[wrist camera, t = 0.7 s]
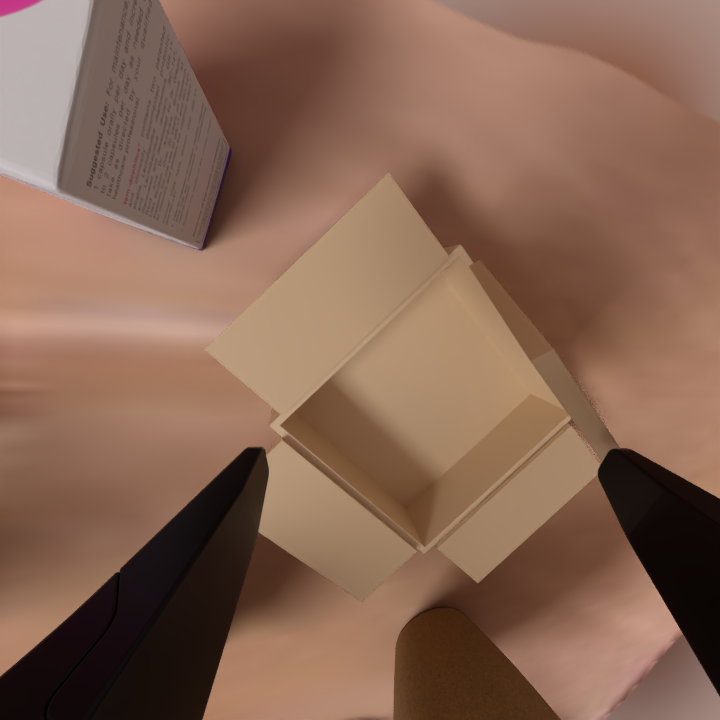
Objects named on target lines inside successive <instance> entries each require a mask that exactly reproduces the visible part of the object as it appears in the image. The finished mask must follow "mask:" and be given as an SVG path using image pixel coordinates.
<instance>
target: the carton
mask: <svg viewBox="0 0 720 720" xmlns="http://www.w3.org/2000/svg"><path fill="white" fill-rule="evenodd" d="M472 264H473V261H472V260H471V259H470V257H469V256H468V254H467V253H466V251H465V250H464V248H463V247H462V246H461V244H459V245H455V246H450V247H446V248H443V247H442V246H441V244H440V243H439V242H438V240H437V239H436V237H435V236H434V235H433V233H432V232H431V230H430V229H429V228H428V226H427V225H426V224H425V222H424V221H423V219H422V218H421V217H420V215H419V214H418V213H417V211H416V210H415V208H414V207H413V206H412V204H411V203H410V201H409V200H408V199H407V197H406V196H405V195H404V193H403V192H402V190H401V189H400V188H399V186H398V185H397V183H396V182H395V181H394V179H393V178H392V177H391V175H390V174H389V173H388V174H386V175H385V176H384V177H383V178H382V179H381V180H380V181H379V182H378V183H377V184H376V185H375V186H374V187H373V188H372V189H371V190H370V191H369V192H368V193H367V194H366V195H365V196H364V197H363V198H362V199H361V200H359V201H358V202H357V203H356V204H355V205H354V206H353V207H352V208H351V209H350V210H349V211H348V212H347V213H346V214H345V215H344V216H343V217H342V218H341V219H340V220H339V221H338V222H337V223H336V224H335V225H334V226H332V227H331V228H330V229H329V230H328V231H327V232H326V233H325V234H324V235H323V236H322V237H321V238H320V239H319V240H318V241H317V242H316V243H315V244H314V245H313V246H312V247H311V248H310V249H309V250H308V251H307V252H305V253H304V254H303V255H302V256H301V257H300V258H299V259H298V260H297V261H296V262H295V263H294V264H293V265H292V266H291V267H290V268H289V269H288V270H287V271H286V272H285V273H284V274H283V275H282V276H281V277H280V278H278V279H277V280H276V281H275V282H274V283H273V284H272V285H271V286H270V287H269V288H268V289H267V290H266V291H265V292H264V293H263V294H262V295H261V296H260V297H259V298H258V299H257V300H256V301H255V302H254V303H253V304H251V305H250V306H249V307H248V308H247V309H246V310H245V311H244V312H243V313H242V314H241V315H240V316H239V317H238V318H237V319H236V320H235V321H234V322H233V323H232V324H231V325H230V326H229V327H228V328H227V329H226V330H224V331H223V332H222V333H221V334H220V335H219V336H218V337H217V338H216V339H215V340H214V341H213V342H212V343H211V344H210V345H209V346H208V347H207V348H206V349H205V350H206V351H207V352H208V353H209V354H210V355H211V356H213V357H214V358H215V359H216V360H217V361H218V362H220V363H221V364H222V365H223V366H224V367H225V368H227V369H228V370H229V371H230V372H231V373H232V374H234V375H235V376H236V377H237V378H238V379H239V380H241V381H242V382H243V383H244V384H245V385H246V386H248V387H249V388H250V389H251V390H252V391H254V392H255V393H256V394H257V395H258V396H259V397H261V398H262V399H263V400H264V401H265V402H266V403H268V404H269V405H270V406H271V407H272V411H271V417H270V422H269V426H270V427H271V428H272V429H273V430H274V431H276V432H277V433H278V434H279V435H280V436H282V437H283V438H282V439H281V440H280V441H278V442H277V443H276V444H275V445H274V446H273V447H272V448H271V449H270V450H269V451H268V452H267V453H266V457H267V462H268V467H269V477H268V483H267V488H266V494H265V499H264V504H263V509H262V515H261V520H260V525H259V530H258V532H259V533H260V534H262V535H263V536H265V537H266V538H268V539H269V540H271V541H272V542H274V543H275V544H276V545H278V546H279V547H281V548H282V549H284V550H285V551H287V552H288V553H290V554H291V555H293V556H294V557H296V558H297V559H299V560H300V561H302V562H303V563H305V564H306V565H308V566H309V567H310V568H312V569H313V570H315V571H316V572H318V573H319V574H321V575H322V576H324V577H325V578H327V579H328V580H330V581H331V582H333V583H334V584H336V585H337V586H339V587H340V588H342V589H343V590H345V591H346V592H347V593H349V594H350V595H352V596H353V597H355V598H356V599H358V600H359V601H361V602H362V601H363V600H364V599H365V598H367V597H368V596H369V595H370V594H371V593H372V592H373V591H374V590H375V589H376V588H377V587H379V586H380V585H381V584H382V583H383V582H384V581H385V580H386V579H387V578H388V577H389V576H391V575H392V574H393V573H394V572H395V571H396V570H397V569H398V568H399V567H400V566H401V565H403V564H404V563H405V562H406V561H407V560H408V559H409V558H410V557H411V556H412V555H413V554H414V553H416V552H417V550H416V548H417V549H418V550H420V551H421V552H422V553H423V554H425V553H426V552H427V551H428V550H429V549H430V548H431V547H432V546H434V545H435V544H436V543H437V542H438V541H439V540H440V539H441V538H442V537H443V536H444V535H445V536H444V537H443V538H442V539H441V540H440V541H439V542H438V543H437V544H436V547H437V549H438V550H439V551H441V552H442V553H443V554H444V555H445V556H446V557H448V558H449V559H450V560H451V561H452V562H453V563H455V564H456V565H457V566H458V567H459V568H460V569H462V570H463V571H464V572H465V573H466V574H467V575H469V576H470V577H471V578H472V579H473V580H474V581H476V582H477V583H479V582H480V581H481V580H482V579H483V578H484V577H485V576H486V575H488V574H489V573H490V572H491V571H492V570H493V569H494V568H495V567H496V566H497V565H499V564H500V563H501V562H502V561H503V560H504V559H505V558H506V557H507V556H509V555H510V554H511V553H512V552H513V551H514V550H515V549H516V548H517V547H518V546H520V545H521V544H522V543H523V542H524V541H525V540H526V539H527V538H528V537H529V536H531V535H532V534H533V533H534V532H535V531H536V530H537V529H538V528H539V527H540V526H542V525H543V524H544V523H545V522H546V521H547V520H548V519H549V518H550V517H551V516H553V515H554V514H555V513H556V512H557V511H558V510H559V509H560V508H561V507H562V506H564V505H565V504H566V503H567V502H568V501H569V500H570V499H571V498H572V497H573V496H575V495H576V494H577V493H578V492H579V491H580V490H581V489H582V488H583V487H584V486H586V485H587V484H588V483H589V482H590V481H591V480H592V479H593V478H594V477H596V476H597V475H598V468H599V467H600V464H599V463H598V462H597V460H596V459H595V457H594V456H593V455H592V453H591V452H590V450H589V449H588V448H587V446H586V445H585V444H584V442H583V441H582V439H581V438H580V437H579V435H578V434H577V432H576V431H575V430H574V428H573V427H572V426H571V425H570V424H567V423H568V422H569V421H570V420H571V418H570V416H569V415H568V413H567V412H566V411H565V409H564V408H563V406H562V405H561V404H560V402H559V401H558V399H557V398H556V397H555V395H554V394H553V392H552V391H551V390H550V388H549V387H548V385H547V384H546V383H545V381H544V380H543V378H542V377H541V376H540V374H539V373H538V371H537V370H536V369H535V367H534V366H533V364H532V363H531V362H530V360H529V359H528V357H527V355H526V354H525V352H524V351H523V349H522V348H521V346H520V345H519V343H518V342H517V340H516V338H515V337H514V335H513V334H512V332H511V331H510V329H509V328H508V326H507V325H506V323H505V322H504V320H503V318H502V317H501V315H500V314H499V312H498V311H497V309H496V308H495V306H494V305H493V303H492V301H491V300H490V298H489V297H488V295H487V294H486V292H485V291H484V289H483V288H482V286H481V284H480V283H479V281H478V280H477V278H476V277H475V275H474V274H473V272H472V271H471V269H470V267H469V266H470V265H472ZM566 424H567V425H566ZM564 425H565V426H564ZM563 426H564V427H563ZM562 427H563V428H562ZM561 428H562V429H561ZM560 429H561V430H560ZM559 430H560V431H559ZM558 431H559V432H558ZM557 432H558V433H557ZM556 433H557V434H556ZM555 434H556V435H555ZM554 435H555V436H554ZM552 436H553V437H552ZM551 437H552V438H551ZM550 438H551V439H550ZM549 439H550V440H549ZM286 440H287V441H288V442H289V443H288V442H287V441H286ZM548 440H549V441H548ZM547 441H548V442H547ZM546 442H547V443H546ZM545 443H546V444H545ZM544 444H545V445H544ZM292 445H293V446H294V447H295V448H294V447H293V446H292ZM543 445H544V446H543ZM542 446H543V447H542ZM540 447H541V448H540ZM539 448H540V449H539ZM538 449H539V450H538ZM298 450H299V451H300V452H301V453H300V452H299V451H298ZM537 450H538V451H537ZM536 451H537V452H536ZM535 452H536V453H535ZM534 453H535V454H534ZM533 454H534V455H533ZM304 455H305V456H306V457H305V456H304ZM532 455H533V456H532ZM531 456H532V457H531ZM530 457H531V458H530ZM528 458H529V459H528ZM527 459H528V460H527ZM310 460H311V461H312V462H311V461H310ZM526 460H527V461H526ZM525 461H526V462H525ZM524 462H525V463H524ZM523 463H524V464H523ZM315 464H316V465H317V466H318V467H317V466H316V465H315ZM522 464H523V465H522ZM521 465H522V466H521ZM520 466H521V467H520ZM519 467H520V468H519ZM518 468H519V469H518ZM321 469H322V470H323V471H324V472H323V471H322V470H321ZM516 469H517V470H516ZM515 470H516V471H515ZM514 471H515V472H514ZM513 472H514V473H513ZM512 473H513V474H512ZM327 474H328V475H329V476H328V475H327ZM511 474H512V475H511ZM510 475H511V476H510ZM509 476H510V477H509ZM508 477H509V478H508ZM507 478H508V479H507ZM333 479H334V480H335V481H334V480H333ZM506 479H507V480H506ZM504 480H505V481H504ZM503 481H504V482H503ZM502 482H503V483H502ZM338 483H339V484H340V485H341V486H340V485H339V484H338ZM501 483H502V484H501ZM500 484H501V485H500ZM499 485H500V486H499ZM498 486H499V487H498ZM497 487H498V488H497ZM344 488H345V489H346V490H347V491H346V490H345V489H344ZM496 488H497V489H496ZM495 489H496V490H495ZM494 490H495V491H494ZM492 491H493V492H492ZM491 492H492V493H491ZM350 493H351V494H352V495H351V494H350ZM490 493H491V494H490ZM489 494H490V495H489ZM488 495H489V496H488ZM487 496H488V497H487ZM486 497H487V498H486ZM356 498H357V499H358V500H357V499H356ZM485 498H486V499H485ZM484 499H485V500H484ZM483 500H484V501H483ZM482 501H483V502H482ZM480 502H481V503H480ZM362 503H363V504H364V505H363V504H362ZM479 503H480V504H479ZM478 504H479V505H478ZM477 505H478V506H477ZM476 506H477V507H476ZM367 507H368V508H369V509H370V510H369V509H368V508H367ZM475 507H476V508H475ZM474 508H475V509H474ZM473 509H474V510H473ZM472 510H473V511H472ZM471 511H472V512H471ZM373 512H374V513H375V514H376V515H375V514H374V513H373ZM470 512H471V513H470ZM468 513H469V514H468ZM467 514H468V515H467ZM466 515H467V516H466ZM465 516H466V517H465ZM379 517H380V518H381V519H380V518H379ZM464 517H465V518H464ZM463 518H464V519H463ZM462 519H463V520H462ZM461 520H462V521H461ZM460 521H461V522H460ZM385 522H386V523H387V524H386V523H385ZM459 522H460V523H459ZM458 523H459V524H458ZM456 524H457V525H456ZM455 525H456V526H455ZM454 526H455V527H454ZM391 527H392V528H393V529H392V528H391ZM453 527H454V528H453ZM452 528H453V529H452ZM451 529H452V530H451ZM450 530H451V531H450ZM396 531H397V532H398V533H399V534H398V533H397V532H396ZM449 531H450V532H449ZM448 532H449V533H448ZM447 533H448V534H447ZM446 534H447V535H446ZM402 536H403V537H404V538H403V537H402ZM408 541H409V542H410V543H409V542H408ZM414 546H415V547H416V548H415V547H414Z"/></svg>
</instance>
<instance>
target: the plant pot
mask: <svg viewBox="0 0 720 720" xmlns="http://www.w3.org/2000/svg"><path fill="white" fill-rule="evenodd" d="M394 720H561V719H560V718H559V717H558V716H557V715H556V713H555V712H554V711H553V710H552V709H551V707H550V706H549V705H548V704H547V703H546V701H545V700H544V699H543V698H542V697H541V695H540V694H539V693H538V692H537V691H536V690H535V689H534V687H533V686H532V685H531V684H530V683H529V682H528V680H527V679H526V678H525V677H524V676H523V675H522V674H521V673H520V671H519V670H518V669H517V668H516V667H515V666H514V665H513V663H512V662H511V661H510V660H509V659H508V658H507V657H506V656H505V655H504V654H503V653H502V652H501V651H500V649H499V648H498V647H497V646H496V645H495V644H494V643H493V642H492V641H491V640H490V639H489V638H488V637H487V636H486V635H485V634H484V633H483V632H482V631H481V630H480V629H479V628H478V627H477V626H476V625H475V624H474V623H473V622H472V621H471V620H470V619H469V618H468V617H467V616H465V615H464V614H463V613H462V612H460V611H458V610H456V609H453V608H446V607H444V608H435V609H432V610H428V611H426V612H424V613H421V614H420V615H418V616H416V617H415V618H414V619H413V620H411V621H410V622H409V623H408V624H407V625H406V626H405V628H404V629H403V630H402V632H401V633H400V635H399V637H398V640H397V643H396V652H395V675H394Z"/></svg>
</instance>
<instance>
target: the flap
mask: <svg viewBox="0 0 720 720" xmlns="http://www.w3.org/2000/svg"><path fill="white" fill-rule="evenodd" d="M469 267H470V269H471V271H472V272H473V274H474V275H475V277H476V278H477V280H478V281H479V283H480V284H481V286H482V288H483V289H484V291H485V292H486V294H487V295H488V297H489V298H490V300H491V301H492V303H493V305H494V306H495V308H496V309H497V311H498V312H499V314H500V315H501V317H502V318H503V320H504V322H505V323H506V325H507V326H508V328H509V329H510V331H511V332H512V334H513V335H514V337H515V338H516V340H517V342H518V343H519V345H520V346H521V348H522V349H523V351H524V352H525V354H526V355H527V357H528V359H529V360H530V362H531V363H532V364H533V366H534V367H535V369H536V370H537V371H538V373H539V374H540V376H541V377H542V378H543V380H544V381H545V383H546V384H547V385H548V387H549V388H550V390H551V391H552V392H553V394H554V395H555V397H556V398H557V399H558V401H559V402H560V404H561V405H562V406H563V408H564V409H565V411H566V412H567V413H568V415H569V416H570V418H571V419H572V420H573V422H574V423H575V425H576V426H577V427H578V429H579V430H580V432H581V433H582V434H583V436H584V437H585V438H586V440H587V441H588V443H589V444H590V445H591V447H592V448H593V450H594V451H595V452H596V454H597V455H598V457H599V458H600V459H601V461H603V460H604V458H605V456H606V454H607V453H608V451H609V450H611V449H613V448H620V447H619V446H618V444H617V443H616V441H615V440H614V438H613V437H612V435H611V434H610V432H609V431H608V429H607V428H606V426H605V425H604V423H603V422H602V420H601V419H600V417H599V416H598V414H597V413H596V411H595V410H594V408H593V407H592V405H591V404H590V402H589V401H588V399H587V398H586V396H585V395H584V393H583V392H582V390H581V389H580V387H579V386H578V385H577V383H576V382H575V380H574V379H573V377H572V376H571V374H570V373H569V371H568V370H567V368H566V367H565V365H564V364H563V362H562V361H561V359H560V358H559V356H558V355H557V353H556V352H555V350H554V349H553V347H552V346H551V345H550V344H549V343H548V341H547V340H546V339H545V338H544V337H543V335H542V334H541V333H540V332H539V331H538V329H537V328H536V327H535V326H534V324H533V323H532V322H531V321H530V320H529V318H528V317H527V316H526V315H525V314H524V312H523V311H522V310H521V309H520V307H519V306H518V305H517V304H516V303H515V301H514V300H513V299H512V298H511V297H510V295H509V294H508V293H507V292H506V291H505V289H504V288H503V287H502V286H501V284H500V283H499V282H498V281H497V280H496V278H495V277H494V276H493V275H492V274H491V272H490V271H489V270H488V269H487V268H486V266H485V265H484V264H483V263H482V261H481V260H480V259H479V260H477V261H476V262H475V263H473V264H472V265H470V266H469Z"/></svg>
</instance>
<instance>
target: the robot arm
mask: <svg viewBox="0 0 720 720" xmlns="http://www.w3.org/2000/svg"><path fill="white" fill-rule="evenodd" d="M268 477H269V467H268V462H267V457H266V452H265V449H264V448H263V447H248V448H246V449H245V450H244V451H243V452H242V453H241V454H240V455H238V456H237V457H236V458H235V459H234V460H233V461H232V462H231V463H230V464H229V465H228V466H227V467H226V468H225V469H224V470H223V471H222V472H221V473H220V474H219V475H218V476H217V477H216V478H214V479H213V480H212V481H211V482H210V483H209V484H208V485H207V486H206V487H205V488H204V489H203V490H202V491H201V492H200V493H199V494H198V495H197V496H196V497H195V498H194V499H193V500H192V501H191V502H189V503H188V504H187V505H186V506H185V507H184V508H183V509H182V510H181V511H180V512H179V513H178V514H177V515H176V516H175V517H174V518H173V519H172V520H171V521H170V522H169V523H168V524H167V525H165V526H164V527H163V528H162V529H161V530H160V531H159V532H158V533H157V534H156V535H155V536H154V537H153V538H152V539H151V540H150V541H149V542H148V543H147V544H146V545H145V546H144V547H143V548H141V549H140V550H139V551H138V552H137V553H136V554H135V555H134V556H133V557H132V558H131V559H130V560H129V561H128V562H127V563H126V564H125V565H124V566H123V567H122V568H121V569H120V573H119V572H117V573H115V574H114V575H113V576H112V577H111V578H110V579H109V580H108V581H107V582H106V583H105V584H104V585H103V586H102V587H101V588H100V589H99V590H97V591H96V592H95V593H94V594H93V595H92V596H91V597H90V598H89V599H88V600H87V601H86V602H85V603H83V604H82V605H81V606H80V607H79V608H78V609H77V610H76V611H75V612H74V613H73V614H72V615H71V616H69V617H68V618H67V619H66V620H65V621H64V622H63V623H62V624H61V625H59V626H58V627H57V628H56V629H55V630H54V631H53V632H51V633H50V634H49V635H48V636H47V637H46V638H45V639H43V640H42V641H41V642H40V643H39V644H38V645H37V646H35V647H34V648H33V649H32V650H31V651H30V652H29V653H27V654H26V655H25V656H24V657H23V658H22V659H20V660H19V661H18V662H17V663H16V664H14V665H13V666H12V667H11V668H10V669H9V670H7V671H6V672H5V673H4V674H3V675H2V676H0V720H202V719H203V716H204V712H205V709H206V706H207V702H208V699H209V696H210V692H211V689H212V686H213V682H214V679H215V676H216V673H217V669H218V666H219V663H220V659H221V656H222V653H223V649H224V646H225V643H226V639H227V636H228V633H229V629H230V626H231V623H232V619H233V616H234V613H235V609H236V606H237V603H238V599H239V596H240V593H241V589H242V586H243V583H244V579H245V576H246V573H247V570H248V566H249V563H250V560H251V556H252V553H253V550H254V546H255V543H256V539H257V535H258V530H259V525H260V520H261V515H262V509H263V504H264V499H265V494H266V488H267V483H268ZM598 478H599V481H600V483H601V485H602V487H603V489H604V491H605V493H606V495H607V497H608V500H609V502H610V504H611V506H612V508H613V510H614V512H615V514H616V516H617V519H618V521H619V523H620V525H621V527H622V529H623V531H624V533H625V535H626V537H627V539H628V541H629V542H630V544H631V546H632V548H633V549H634V551H635V553H636V555H637V556H638V558H639V560H640V561H641V563H642V565H643V567H644V568H645V570H646V572H647V573H648V575H649V577H650V578H651V580H652V582H653V584H654V585H655V587H656V589H657V590H658V592H659V594H660V595H661V597H662V599H663V601H664V602H665V604H666V606H667V607H668V609H669V611H670V612H671V614H672V616H673V618H674V619H675V621H676V623H677V624H678V626H679V628H680V630H681V631H682V633H683V635H684V636H685V638H686V640H687V641H688V643H689V645H690V647H691V648H692V650H693V652H694V653H695V655H696V657H697V658H698V660H699V662H700V664H701V665H702V667H703V669H704V670H705V672H706V674H707V675H708V677H709V679H710V681H711V682H712V684H713V686H714V687H715V689H716V691H717V693H718V694H719V696H720V499H719V498H717V497H716V496H714V495H712V494H710V493H709V492H707V491H705V490H703V489H701V488H700V487H698V486H696V485H694V484H692V483H691V482H689V481H687V480H685V479H683V478H682V477H680V476H678V475H676V474H674V473H673V472H671V471H669V470H667V469H665V468H664V467H662V466H660V465H658V464H656V463H655V462H653V461H651V460H649V459H647V458H646V457H644V456H642V455H640V454H638V453H637V452H635V451H633V450H631V449H627V448H613V449H611V450H609V451H608V453H607V454H606V456H605V458H604V460H603V461H602V463H601V465H600V467H599V468H598Z"/></svg>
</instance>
